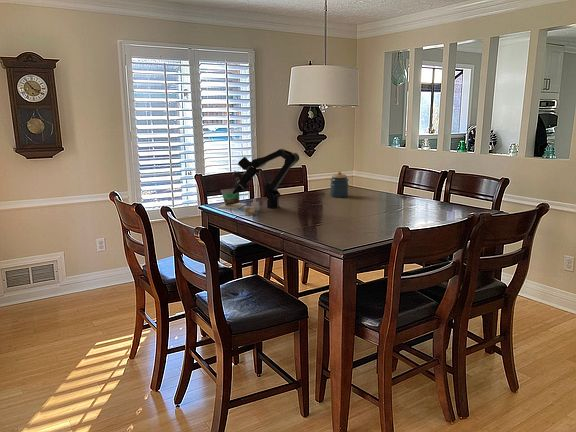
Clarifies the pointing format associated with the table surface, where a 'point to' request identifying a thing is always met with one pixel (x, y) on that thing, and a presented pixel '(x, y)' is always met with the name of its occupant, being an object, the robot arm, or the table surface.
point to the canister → (339, 185)
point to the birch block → (249, 210)
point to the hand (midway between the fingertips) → (232, 192)
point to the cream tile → (232, 206)
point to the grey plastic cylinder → (255, 205)
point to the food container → (230, 196)
